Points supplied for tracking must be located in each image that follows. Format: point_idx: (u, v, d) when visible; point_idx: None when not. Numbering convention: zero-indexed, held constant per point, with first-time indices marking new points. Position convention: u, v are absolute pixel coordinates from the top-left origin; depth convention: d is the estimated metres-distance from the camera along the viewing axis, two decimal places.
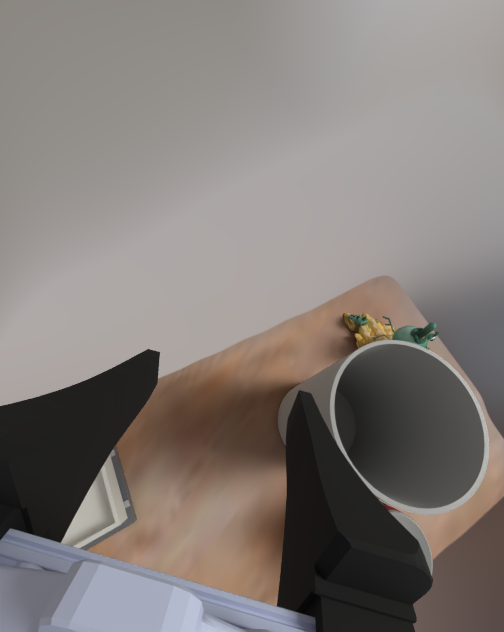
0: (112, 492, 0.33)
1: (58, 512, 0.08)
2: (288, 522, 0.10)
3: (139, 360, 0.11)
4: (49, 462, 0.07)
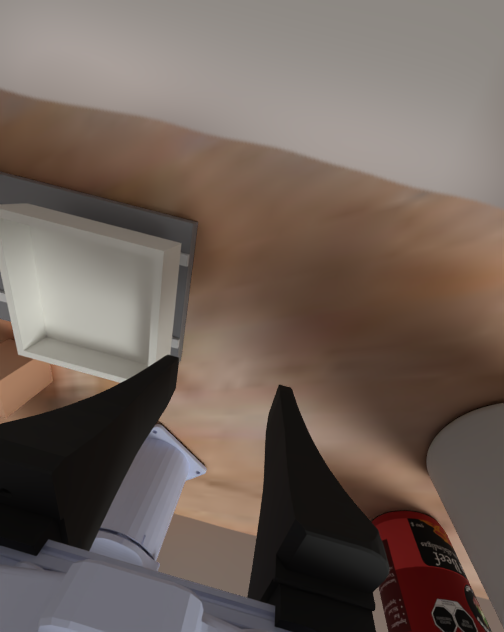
0: (158, 346, 0.17)
1: (89, 521, 0.08)
2: (262, 514, 0.10)
3: (161, 366, 0.11)
4: (84, 472, 0.07)
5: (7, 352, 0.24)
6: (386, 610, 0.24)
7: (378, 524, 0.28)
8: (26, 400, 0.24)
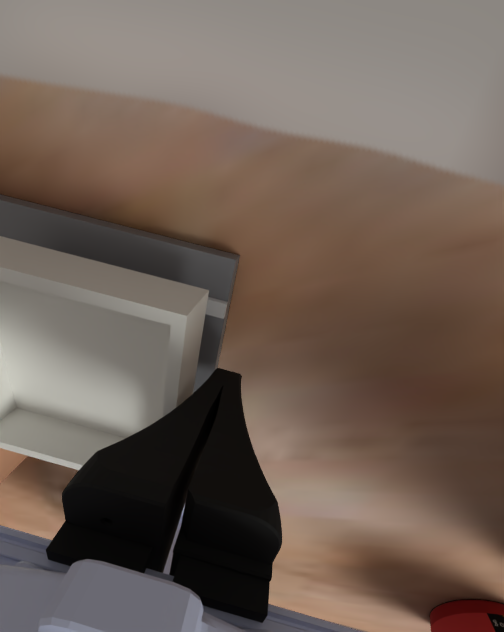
0: None
1: (168, 544, 0.08)
2: None
3: (217, 381, 0.11)
4: (176, 498, 0.07)
5: None
6: None
7: (447, 616, 0.23)
8: (5, 476, 0.19)
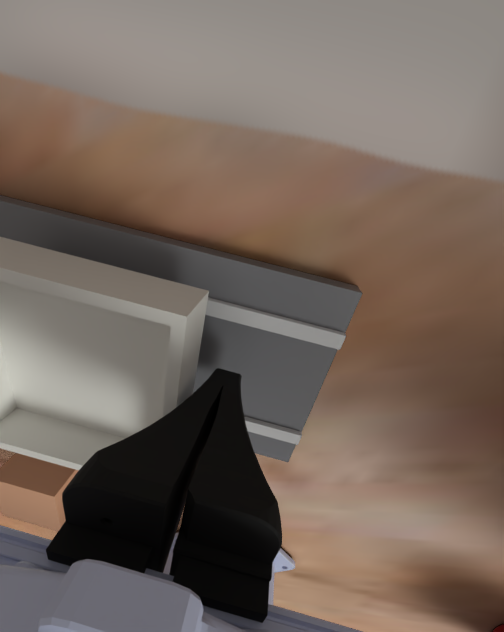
0: None
1: (168, 544, 0.08)
2: None
3: (217, 381, 0.11)
4: (176, 498, 0.07)
5: None
6: None
7: None
8: None
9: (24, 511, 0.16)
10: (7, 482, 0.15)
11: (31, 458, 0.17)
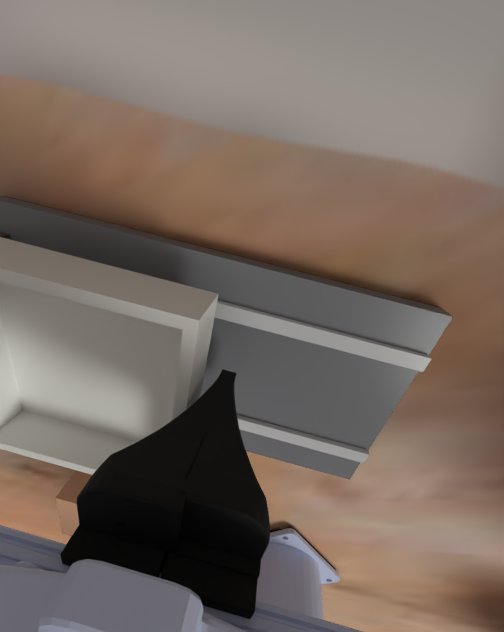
0: None
1: None
2: None
3: (225, 383, 0.11)
4: None
5: None
6: None
7: None
8: None
9: None
10: (73, 502, 0.15)
11: None
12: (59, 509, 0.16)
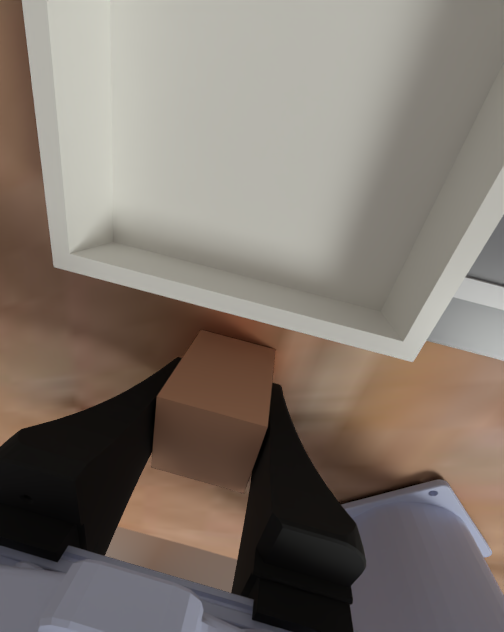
0: None
1: (105, 526, 0.08)
2: (247, 510, 0.10)
3: (172, 369, 0.11)
4: (103, 478, 0.07)
5: (222, 356, 0.12)
6: None
7: None
8: None
9: (194, 458, 0.10)
10: (187, 403, 0.09)
11: (201, 376, 0.11)
12: (158, 420, 0.10)
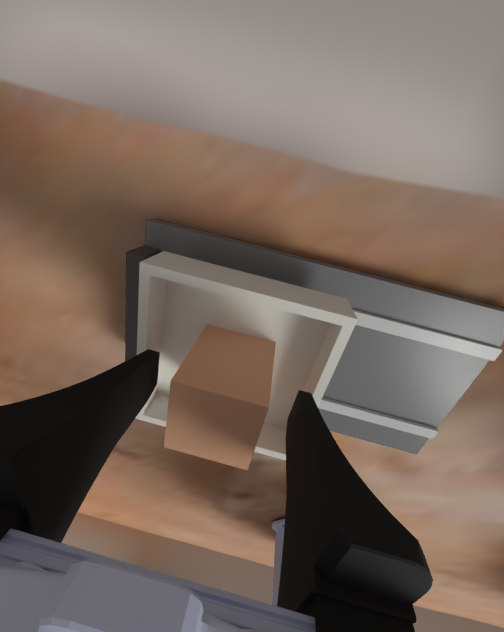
0: None
1: (58, 512, 0.08)
2: (288, 522, 0.10)
3: (139, 360, 0.11)
4: (49, 462, 0.07)
5: (227, 347, 0.13)
6: None
7: None
8: None
9: (203, 438, 0.11)
10: (197, 387, 0.10)
11: (209, 364, 0.12)
12: (171, 402, 0.11)
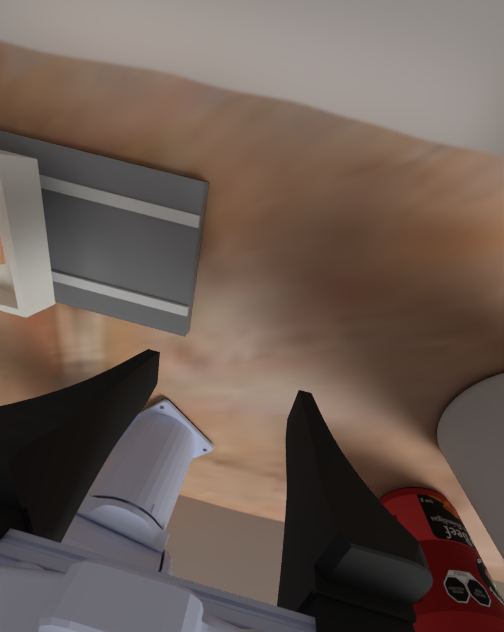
0: (20, 265, 0.17)
1: (58, 512, 0.08)
2: (288, 522, 0.10)
3: (139, 360, 0.11)
4: (49, 462, 0.07)
5: None
6: None
7: (387, 501, 0.28)
8: None
9: None
10: None
11: None
12: None
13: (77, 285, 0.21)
